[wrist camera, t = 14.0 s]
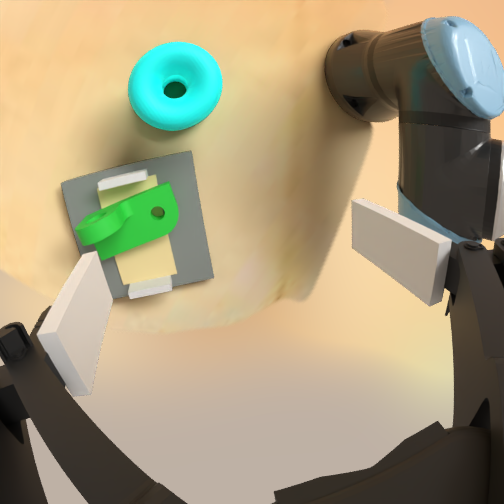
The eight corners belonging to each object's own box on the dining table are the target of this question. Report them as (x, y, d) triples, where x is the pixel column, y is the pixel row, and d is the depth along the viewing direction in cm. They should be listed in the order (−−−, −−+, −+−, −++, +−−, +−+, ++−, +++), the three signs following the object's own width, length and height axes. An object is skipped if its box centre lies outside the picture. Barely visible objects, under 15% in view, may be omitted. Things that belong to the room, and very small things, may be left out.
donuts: (161, 149, 30) (108, 75, 25) (164, 145, 39) (123, 88, 34) (242, 95, 30) (191, 22, 25) (227, 103, 39) (186, 46, 34)
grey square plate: (190, 150, 40) (193, 153, 35) (212, 272, 47) (217, 287, 43) (65, 180, 37) (53, 187, 32) (99, 295, 44) (93, 312, 39)
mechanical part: (104, 255, 40) (92, 281, 33) (86, 215, 37) (69, 234, 30) (184, 223, 41) (187, 244, 34) (169, 181, 38) (167, 192, 31)
